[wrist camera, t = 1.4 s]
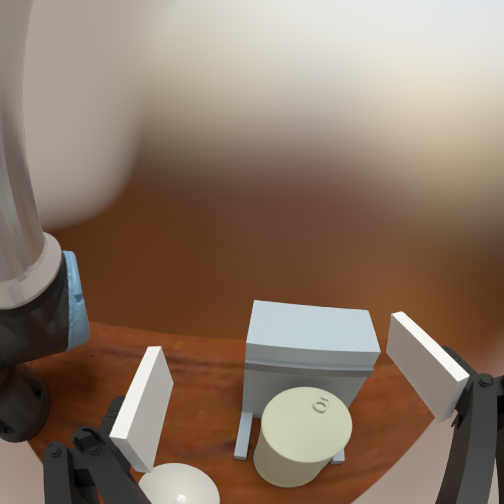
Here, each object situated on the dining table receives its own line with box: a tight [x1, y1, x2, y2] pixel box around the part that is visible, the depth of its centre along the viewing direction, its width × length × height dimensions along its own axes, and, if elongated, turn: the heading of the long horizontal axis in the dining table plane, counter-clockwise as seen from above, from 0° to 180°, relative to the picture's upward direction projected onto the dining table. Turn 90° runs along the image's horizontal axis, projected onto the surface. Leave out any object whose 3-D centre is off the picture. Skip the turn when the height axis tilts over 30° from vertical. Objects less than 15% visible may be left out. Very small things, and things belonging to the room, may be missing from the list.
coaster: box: [138, 463, 220, 504], centre depth 21 cm, size 10×10×1 cm
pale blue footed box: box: [234, 300, 380, 464], centre depth 29 cm, size 14×14×16 cm
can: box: [253, 387, 352, 487], centre depth 25 cm, size 9×9×12 cm
